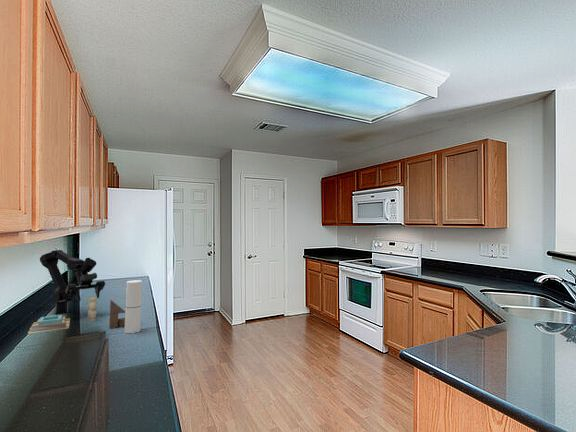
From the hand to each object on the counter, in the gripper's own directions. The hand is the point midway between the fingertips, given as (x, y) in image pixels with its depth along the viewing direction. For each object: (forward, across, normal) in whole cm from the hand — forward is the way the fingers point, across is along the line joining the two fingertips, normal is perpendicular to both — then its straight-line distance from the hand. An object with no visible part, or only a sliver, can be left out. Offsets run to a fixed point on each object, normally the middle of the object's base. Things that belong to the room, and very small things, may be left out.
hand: (89, 299), depth 173 cm
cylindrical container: (+34, +7, -18) cm, 39 cm away
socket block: (+8, -18, +7) cm, 21 cm away
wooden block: (+25, +7, -9) cm, 28 cm away
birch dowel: (+12, 0, +5) cm, 12 cm away
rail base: (+8, -17, +9) cm, 21 cm away
